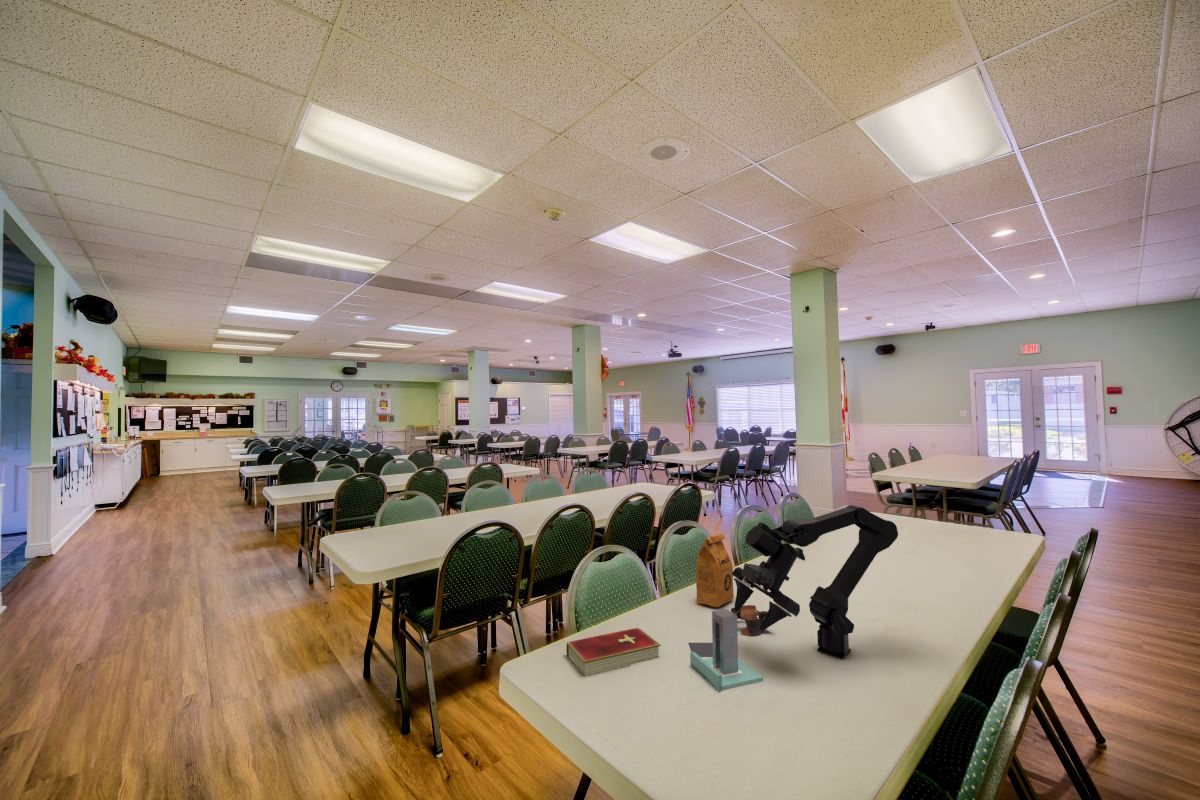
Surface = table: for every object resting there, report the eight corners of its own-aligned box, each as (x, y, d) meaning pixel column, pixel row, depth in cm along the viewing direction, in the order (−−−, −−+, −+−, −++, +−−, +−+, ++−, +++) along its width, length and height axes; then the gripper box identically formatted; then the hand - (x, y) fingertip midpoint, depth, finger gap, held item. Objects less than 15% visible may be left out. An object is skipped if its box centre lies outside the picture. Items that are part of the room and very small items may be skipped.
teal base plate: (732, 658, 124) (731, 644, 124) (763, 682, 113) (762, 666, 113) (690, 667, 120) (690, 652, 120) (718, 692, 108) (718, 675, 109)
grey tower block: (727, 663, 119) (726, 608, 120) (738, 672, 115) (737, 615, 115) (712, 666, 118) (712, 611, 118) (723, 675, 113) (722, 617, 114)
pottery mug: (731, 638, 137) (725, 607, 141) (737, 641, 144) (730, 611, 149) (775, 632, 133) (767, 600, 138) (779, 636, 141) (771, 605, 145)
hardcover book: (566, 657, 127) (566, 640, 127) (637, 641, 135) (637, 625, 135) (584, 678, 116) (584, 660, 116) (660, 660, 124) (660, 643, 125)
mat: (717, 644, 132) (717, 642, 132) (724, 658, 124) (724, 656, 124) (688, 644, 132) (688, 642, 132) (693, 658, 124) (693, 656, 124)
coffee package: (738, 601, 163) (737, 534, 164) (718, 611, 155) (716, 541, 156) (713, 594, 171) (712, 530, 172) (692, 603, 162) (691, 536, 163)
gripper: (734, 538, 130) (704, 590, 128) (788, 567, 113) (755, 628, 111) (759, 556, 135) (730, 606, 132) (814, 587, 118) (783, 645, 116)
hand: (747, 620), depth 123 cm, fingers open, 9 cm apart
